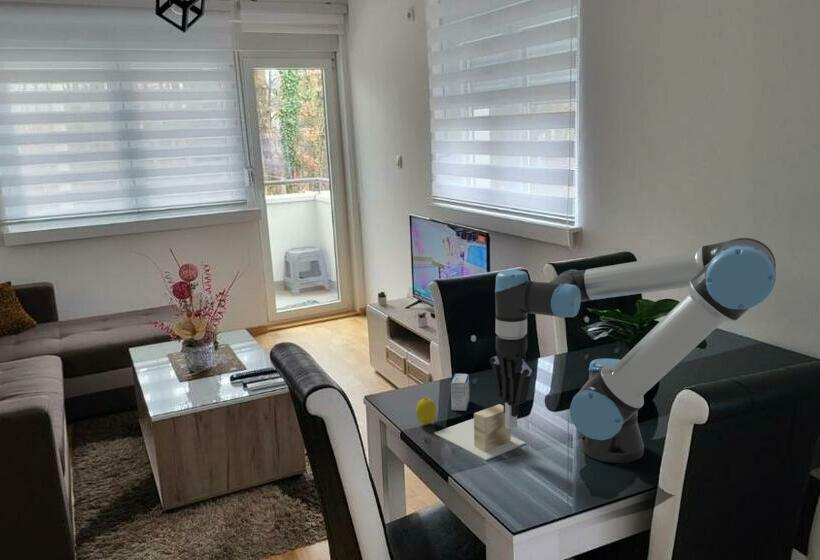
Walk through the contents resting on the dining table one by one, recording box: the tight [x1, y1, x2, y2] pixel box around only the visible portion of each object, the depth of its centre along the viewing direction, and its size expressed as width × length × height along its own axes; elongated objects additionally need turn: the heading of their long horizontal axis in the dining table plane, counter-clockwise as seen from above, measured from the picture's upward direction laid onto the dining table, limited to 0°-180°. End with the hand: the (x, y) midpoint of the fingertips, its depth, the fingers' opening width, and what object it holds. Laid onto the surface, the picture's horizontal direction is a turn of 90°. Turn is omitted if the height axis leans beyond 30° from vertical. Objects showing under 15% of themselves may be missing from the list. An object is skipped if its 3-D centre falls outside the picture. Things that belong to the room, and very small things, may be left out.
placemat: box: [433, 418, 526, 462], centre depth 174 cm, size 20×14×1 cm
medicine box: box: [450, 373, 470, 412], centre depth 195 cm, size 8×4×9 cm, turn 168°
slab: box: [473, 403, 512, 452], centre depth 169 cm, size 9×4×9 cm, turn 127°
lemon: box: [415, 397, 437, 426], centre depth 183 cm, size 6×6×8 cm
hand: (511, 426), depth 163 cm, fingers closed
